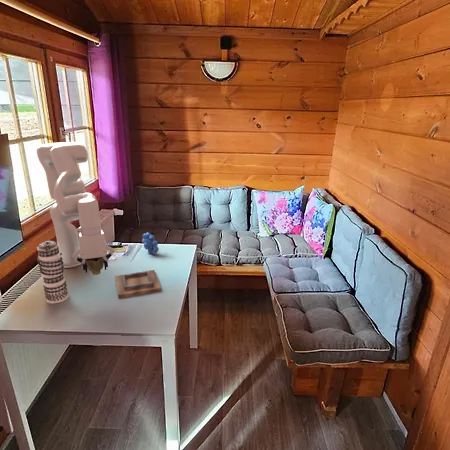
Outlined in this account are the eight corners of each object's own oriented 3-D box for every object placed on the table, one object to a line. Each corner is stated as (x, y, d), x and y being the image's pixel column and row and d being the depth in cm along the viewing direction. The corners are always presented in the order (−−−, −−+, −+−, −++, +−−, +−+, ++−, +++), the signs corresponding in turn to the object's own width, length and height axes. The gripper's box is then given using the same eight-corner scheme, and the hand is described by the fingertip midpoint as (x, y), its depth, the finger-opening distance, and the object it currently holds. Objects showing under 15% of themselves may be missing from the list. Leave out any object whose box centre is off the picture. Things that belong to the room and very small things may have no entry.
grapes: (137, 253, 190) (135, 232, 185) (147, 249, 195) (145, 229, 191) (152, 259, 183) (150, 237, 179) (161, 254, 188) (160, 233, 184)
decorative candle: (45, 295, 150) (34, 240, 141) (69, 290, 153) (60, 237, 145) (44, 306, 142) (33, 249, 133) (69, 301, 145) (59, 245, 137)
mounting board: (118, 298, 147) (117, 292, 146) (115, 278, 163) (114, 272, 162) (161, 290, 153) (160, 284, 152) (154, 272, 169) (154, 266, 168)
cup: (88, 279, 140) (85, 261, 137) (85, 271, 146) (82, 254, 143) (107, 275, 143) (105, 257, 140) (104, 267, 149) (102, 250, 146)
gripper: (66, 235, 131) (72, 277, 138) (114, 230, 137) (118, 271, 144) (67, 228, 138) (73, 269, 145) (113, 224, 144) (117, 263, 150)
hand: (96, 269), depth 144 cm, fingers closed on cup, 6 cm apart
